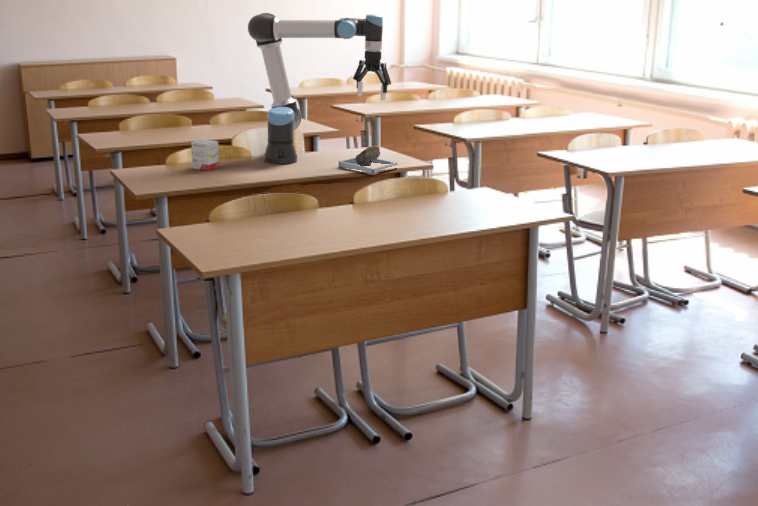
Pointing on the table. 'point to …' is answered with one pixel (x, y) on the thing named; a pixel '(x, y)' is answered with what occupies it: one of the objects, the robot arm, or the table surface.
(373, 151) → the rock
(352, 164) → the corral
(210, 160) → the ink box
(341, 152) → the table surface
